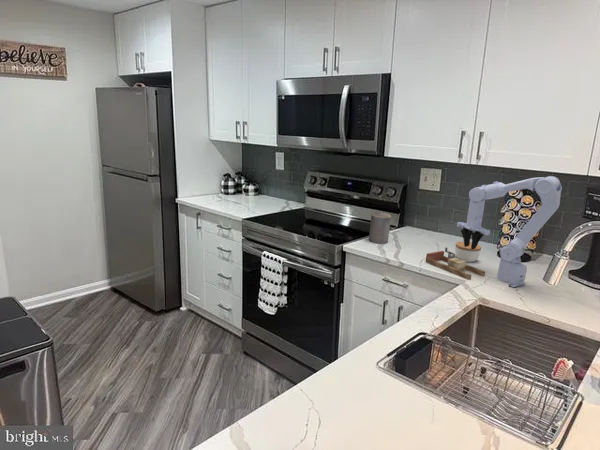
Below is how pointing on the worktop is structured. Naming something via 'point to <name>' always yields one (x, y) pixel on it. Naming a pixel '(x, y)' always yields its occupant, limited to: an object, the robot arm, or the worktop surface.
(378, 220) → the pillar candle
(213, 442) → the worktop surface
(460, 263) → the tan wooden block
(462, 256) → the lidded jar
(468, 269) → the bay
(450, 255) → the winch
